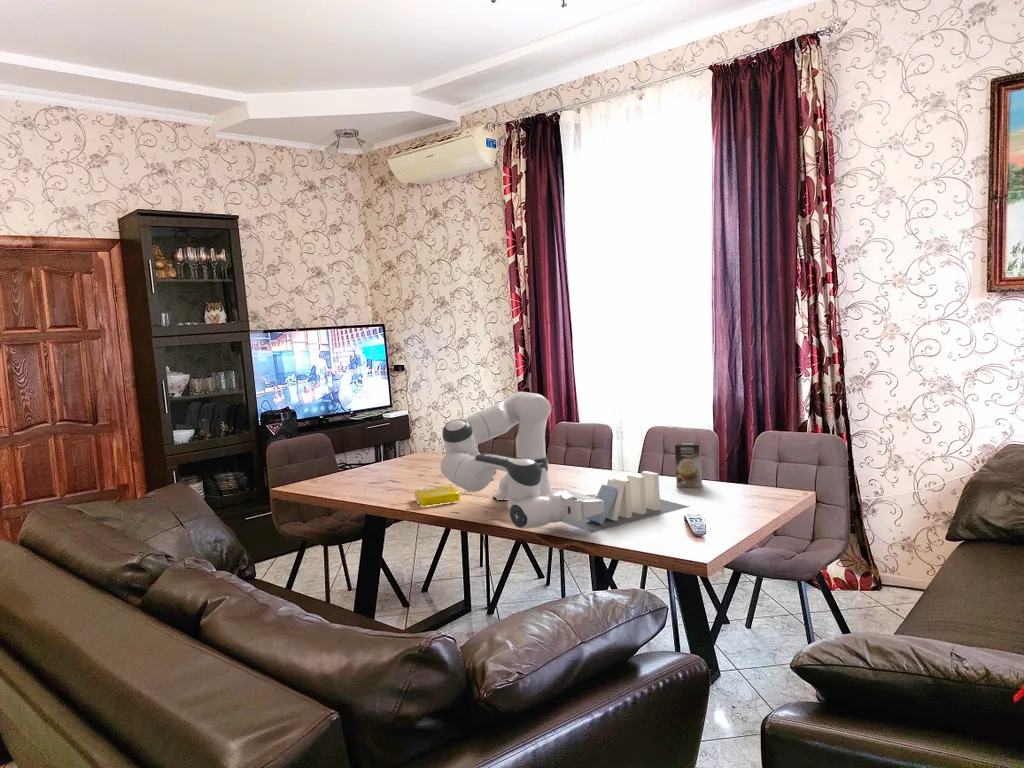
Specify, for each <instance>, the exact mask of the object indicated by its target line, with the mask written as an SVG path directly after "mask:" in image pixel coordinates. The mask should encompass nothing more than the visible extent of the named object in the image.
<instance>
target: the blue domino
mask: <svg viewBox="0 0 1024 768" xmlns="http://www.w3.org/2000/svg"><path fill="white" fill-rule="evenodd" d="M617 492H618V490H617V489H616V488H614V487H610V486H607V484H601V486H600V488H599V490H598V493H597V494H596V495H599V496H600V499H601V500H603V501H604V511H603V512H602V513H600V514H597V515H594V516H591V517H587V518H586V519H588V520H590V521H592V522H595V523H598V524H601V525H602V524H603V522H604V520H605V518H606V516H607V514H608V511H609V509H610V507H611V505H612V503H613V501H614V499H615V496H616V494H617Z"/></svg>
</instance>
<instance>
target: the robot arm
mask: <svg viewBox="0 0 1024 768" xmlns="http://www.w3.org/2000/svg"><path fill="white" fill-rule="evenodd" d="M550 402H551V401H549V400H548V398H546V396H543V395H542V394H539V393H535V392H527V391H517V392H515V393H512V394H510V395H508V396H507V397H505V398H504V399H502V400H501V401H499V402H497V403H495V404H494V405H492V406H489V407H487V408H485V409H482V410H480V411H477V412H475V413H472V414H471V416H470V415H468V416H467V417H466V418H463V419H459V418H458V419H452V420H451V421H449V422H447V423H446V424H444V425H445V426H444V427H442V434H441V435H442V439H443V443H444V450H445V454H446V455H444V456H443V457H442V459H441V462H440V471H441V473H442V475H443V476H444V477H445V478H446V479H447V480H449V481H450V482H451V483H452V484H454V485H456V486H457V487H458V488H461V489H463V490H464V491H467V492H471V493H476V492H481V491H483V490H484V489H485V488H486V487H488V486H489V484H490V483H491V481H492V479H493V476H494V475H493V474H494V471H495V469H496V471H500V472H506V474H505V475H504V476H503V477H501V479H500V481H499V485H498V490H496V491H494V493H493V498H494V497H495V498H496V499H499V500H501V499H502V500H503V499H508V501H506V502H507V503H506V504H507V511H509V517H510V520H511V522H512V524H513V525H514V526H515V527H516V528H518V529H533V528H540V527H544V526H546V525H548V524H550V523H558V522H559V523H560V522H561V521H581V520H582V518H587V517H591V516H594V515H597V514H600V513H602V512H603V511H604V501H603V500H601V499H600V496H599V495H597V494H594V493H591V494H583V493H579V492H575V491H572V490H568V489H562V490H559V491H553V489H552V487H551V486H552V485H551V481H550V478H549V477H550V476H549V472H548V471H549V461H548V456H547V455H546V454H547V453H546V428H547V422H548V419H549V418H550V415H551V413H552V405H551V403H550ZM516 425H519V426H518V431H517V434H516V436H515V449H516V457H513V456H508V455H503V454H498V453H491V452H484V453H480V452H479V448H478V445H479V444H483V443H486V442H487V441H490V440H492V439H494V438H496V437H499V436H501V435H504V434H505V433H508V431H510V430H511V429H512V428H513V427H515V426H516ZM479 453H480V454H479Z"/></svg>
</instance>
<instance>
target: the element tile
mask: <svg viewBox="0 0 1024 768" xmlns="http://www.w3.org/2000/svg"><path fill="white" fill-rule="evenodd" d="M414 498H415V499H416V500H417V501H418V502H419V504H420V505H422V506H426V505H433V504H440V503H447V502H454V501H459V500H460V499H461V498H460V491H459V490H458V489H456V488H455V487H454V486H453V485H451V484H450V485H449V484H448V485H442V486H434V487H423V488H418V489H416V490H414ZM415 499H414V500H415ZM460 501H461V500H460Z"/></svg>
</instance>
